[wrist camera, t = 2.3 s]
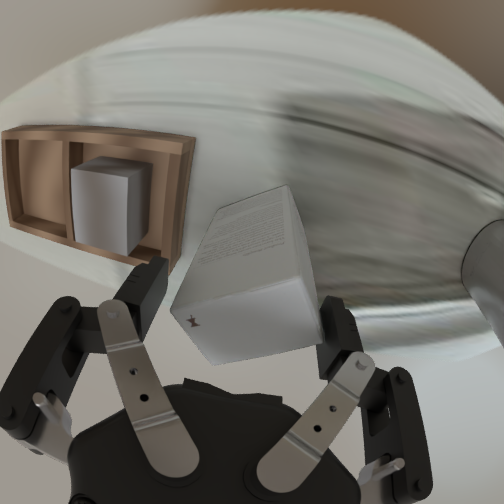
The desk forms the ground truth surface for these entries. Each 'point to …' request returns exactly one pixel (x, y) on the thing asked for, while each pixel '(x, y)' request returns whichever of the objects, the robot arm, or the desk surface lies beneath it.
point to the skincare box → (251, 283)
